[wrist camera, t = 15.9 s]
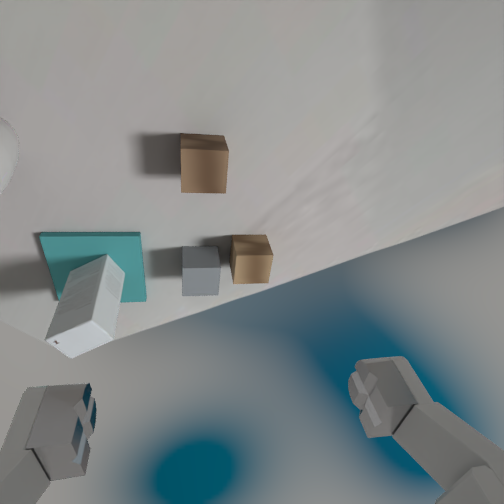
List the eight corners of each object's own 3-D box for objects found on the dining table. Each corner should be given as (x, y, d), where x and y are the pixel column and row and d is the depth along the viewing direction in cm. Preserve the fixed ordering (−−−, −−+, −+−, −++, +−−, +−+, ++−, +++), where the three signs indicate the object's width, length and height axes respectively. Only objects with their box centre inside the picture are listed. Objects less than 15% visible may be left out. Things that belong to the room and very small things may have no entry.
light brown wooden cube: (229, 261, 52) (233, 284, 48) (231, 234, 49) (236, 255, 45) (261, 261, 53) (268, 283, 49) (265, 234, 50) (273, 255, 46)
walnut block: (181, 173, 42) (181, 192, 38) (180, 133, 39) (180, 148, 35) (221, 175, 43) (225, 193, 39) (223, 135, 40) (228, 151, 36)
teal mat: (62, 300, 50) (60, 304, 50) (41, 232, 43) (39, 236, 43) (146, 296, 53) (146, 301, 52) (140, 232, 46) (139, 236, 45)
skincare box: (90, 289, 49) (69, 360, 40) (69, 270, 46) (41, 340, 37) (127, 273, 48) (115, 340, 39) (108, 252, 46) (89, 319, 36)
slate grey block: (182, 273, 51) (182, 296, 47) (182, 246, 48) (182, 268, 45) (215, 272, 52) (218, 295, 48) (217, 246, 49) (220, 267, 46)
